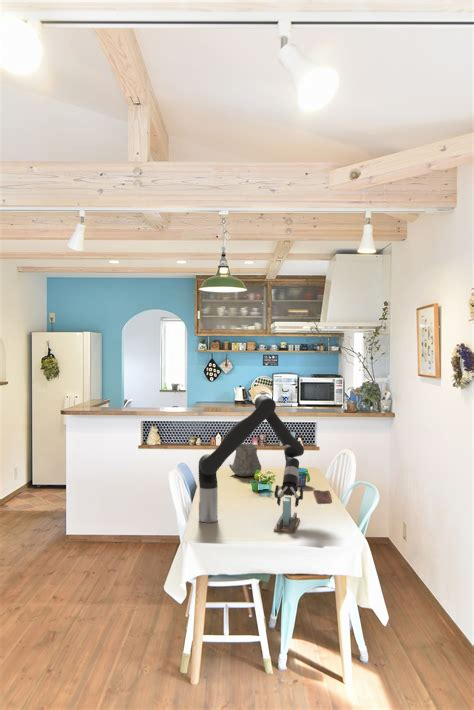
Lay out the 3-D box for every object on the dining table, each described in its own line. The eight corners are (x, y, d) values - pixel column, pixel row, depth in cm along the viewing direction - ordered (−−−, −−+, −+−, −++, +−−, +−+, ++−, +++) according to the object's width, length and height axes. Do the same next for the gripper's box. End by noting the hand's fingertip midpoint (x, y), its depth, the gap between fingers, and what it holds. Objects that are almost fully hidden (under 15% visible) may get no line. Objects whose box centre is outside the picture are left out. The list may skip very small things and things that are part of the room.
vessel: (231, 470, 383) (231, 442, 383) (262, 471, 380) (262, 443, 380) (226, 478, 362) (226, 448, 361) (259, 479, 359) (259, 449, 358)
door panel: (282, 525, 266) (282, 500, 266) (285, 520, 273) (285, 497, 272) (288, 525, 265) (288, 501, 265) (291, 521, 272) (291, 497, 272)
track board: (273, 531, 260) (273, 523, 260) (280, 518, 280) (280, 511, 280) (294, 533, 258) (294, 525, 258) (299, 519, 277) (299, 512, 277)
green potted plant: (254, 492, 329) (254, 473, 329) (248, 488, 337) (248, 470, 337) (271, 490, 333) (271, 471, 333) (265, 486, 342) (265, 468, 341)
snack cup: (285, 483, 348) (285, 468, 348) (297, 481, 354) (297, 466, 354) (301, 489, 335) (301, 473, 335) (314, 486, 341) (314, 470, 341)
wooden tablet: (333, 502, 305) (315, 500, 305) (332, 506, 305) (315, 503, 306) (329, 490, 331) (313, 487, 332) (329, 493, 331) (312, 491, 332)
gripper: (276, 472, 279) (272, 500, 268) (303, 474, 276) (301, 502, 265) (278, 480, 285) (274, 508, 274) (305, 481, 281) (302, 510, 270)
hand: (287, 505), depth 269 cm, fingers open, 8 cm apart
